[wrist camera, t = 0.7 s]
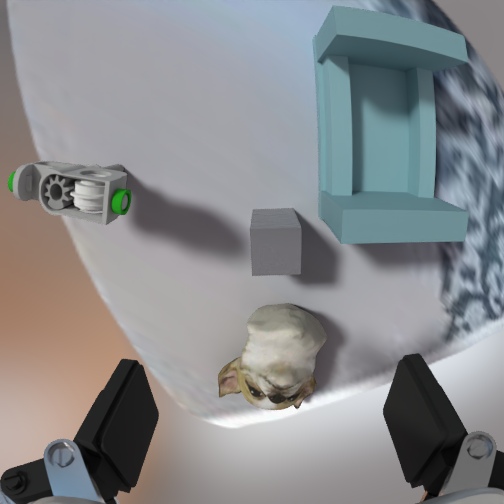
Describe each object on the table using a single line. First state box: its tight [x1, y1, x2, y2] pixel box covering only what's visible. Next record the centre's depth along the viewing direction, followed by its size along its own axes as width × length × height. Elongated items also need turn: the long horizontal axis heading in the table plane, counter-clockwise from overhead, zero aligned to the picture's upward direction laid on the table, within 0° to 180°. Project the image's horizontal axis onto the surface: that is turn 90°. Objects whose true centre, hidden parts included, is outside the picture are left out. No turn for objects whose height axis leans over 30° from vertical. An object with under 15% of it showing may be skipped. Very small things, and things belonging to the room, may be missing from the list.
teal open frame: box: [313, 6, 469, 244], centre depth 19 cm, size 16×10×8 cm, turn 3°
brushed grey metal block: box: [250, 208, 302, 276], centre depth 24 cm, size 4×4×6 cm
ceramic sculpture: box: [218, 304, 327, 410], centre depth 28 cm, size 11×9×15 cm
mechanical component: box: [8, 161, 131, 225], centre depth 21 cm, size 3×10×10 cm, turn 77°
